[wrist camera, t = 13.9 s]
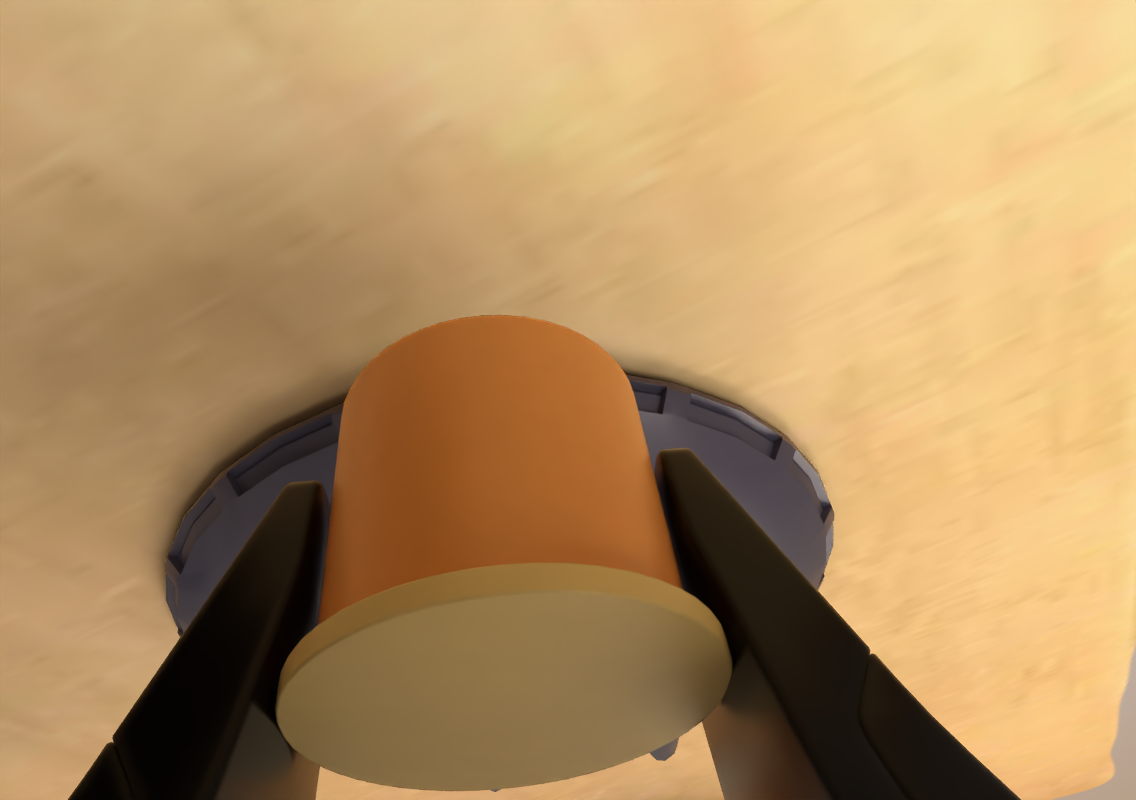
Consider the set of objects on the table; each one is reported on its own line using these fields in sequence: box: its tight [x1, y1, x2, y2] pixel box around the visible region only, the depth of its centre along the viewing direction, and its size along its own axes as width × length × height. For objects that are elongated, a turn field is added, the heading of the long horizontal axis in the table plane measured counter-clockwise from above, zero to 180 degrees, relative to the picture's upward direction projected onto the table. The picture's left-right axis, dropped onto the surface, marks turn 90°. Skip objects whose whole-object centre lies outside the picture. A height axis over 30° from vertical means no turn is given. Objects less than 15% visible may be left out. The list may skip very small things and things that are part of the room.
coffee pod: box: [275, 315, 732, 791], centre depth 9 cm, size 5×5×4 cm
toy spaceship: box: [165, 375, 834, 792], centre depth 30 cm, size 28×24×3 cm
